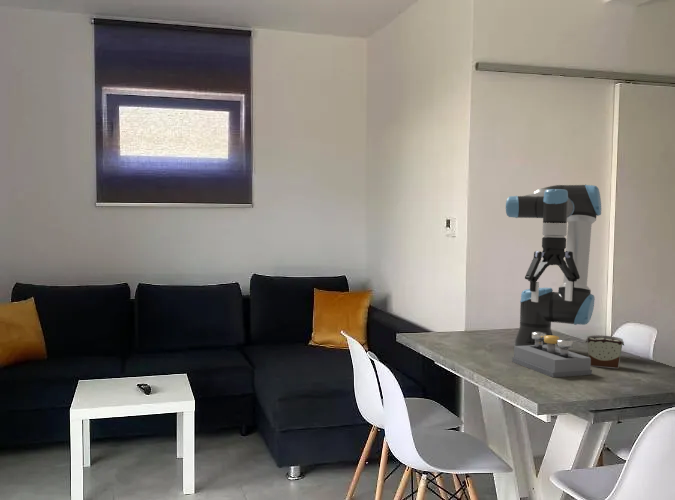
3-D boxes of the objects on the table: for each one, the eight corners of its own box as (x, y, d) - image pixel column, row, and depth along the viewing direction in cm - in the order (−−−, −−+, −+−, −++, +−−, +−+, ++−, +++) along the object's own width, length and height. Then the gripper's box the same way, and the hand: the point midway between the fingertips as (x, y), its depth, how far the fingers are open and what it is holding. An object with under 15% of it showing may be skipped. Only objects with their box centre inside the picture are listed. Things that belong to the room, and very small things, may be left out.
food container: (622, 365, 238) (623, 336, 237) (623, 368, 232) (624, 339, 232) (584, 362, 242) (585, 334, 241) (584, 365, 236) (585, 336, 236)
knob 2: (565, 356, 227) (566, 338, 227) (575, 359, 223) (575, 341, 222) (553, 357, 226) (554, 339, 225) (562, 360, 221) (563, 342, 221)
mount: (548, 359, 244) (548, 344, 244) (591, 374, 223) (592, 357, 222) (512, 361, 240) (512, 346, 239) (552, 377, 218) (553, 360, 218)
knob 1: (540, 348, 241) (540, 331, 240) (548, 350, 236) (549, 333, 236) (528, 348, 239) (529, 332, 239) (536, 351, 234) (537, 334, 234)
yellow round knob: (552, 352, 234) (553, 335, 234) (561, 355, 229) (562, 337, 229) (540, 352, 232) (541, 335, 232) (549, 355, 228) (550, 338, 228)
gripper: (576, 236, 232) (574, 298, 233) (515, 235, 222) (513, 300, 223) (592, 237, 225) (589, 301, 226) (529, 236, 215) (527, 303, 216)
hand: (551, 301), depth 225 cm, fingers open, 13 cm apart
